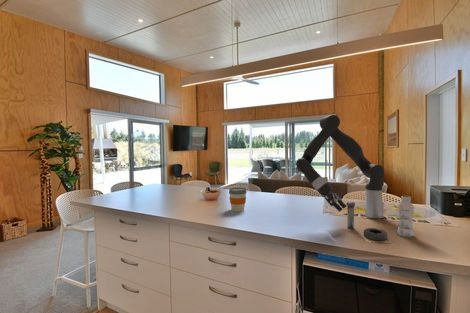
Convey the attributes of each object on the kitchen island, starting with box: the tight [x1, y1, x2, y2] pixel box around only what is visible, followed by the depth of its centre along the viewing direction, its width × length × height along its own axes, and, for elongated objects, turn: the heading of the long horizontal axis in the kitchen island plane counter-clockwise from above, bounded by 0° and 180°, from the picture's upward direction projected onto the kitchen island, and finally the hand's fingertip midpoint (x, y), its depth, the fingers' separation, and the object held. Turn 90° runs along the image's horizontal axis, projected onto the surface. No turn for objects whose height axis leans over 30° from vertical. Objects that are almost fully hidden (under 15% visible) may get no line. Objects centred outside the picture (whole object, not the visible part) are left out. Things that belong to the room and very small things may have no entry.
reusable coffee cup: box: [228, 187, 247, 212], centre depth 175 cm, size 13×13×15 cm
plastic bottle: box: [396, 195, 415, 238], centre depth 119 cm, size 6×7×20 cm
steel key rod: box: [346, 201, 356, 230], centre depth 130 cm, size 4×4×15 cm
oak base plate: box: [356, 232, 396, 244], centre depth 116 cm, size 12×12×1 cm
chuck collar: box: [363, 227, 388, 241], centre depth 116 cm, size 9×9×3 cm
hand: (343, 209), depth 133 cm, fingers open, 8 cm apart
